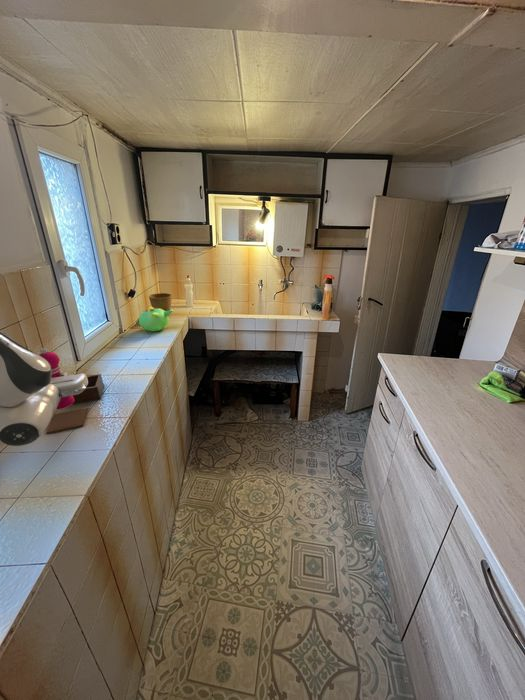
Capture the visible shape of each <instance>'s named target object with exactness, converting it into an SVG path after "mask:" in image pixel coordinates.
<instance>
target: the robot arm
mask: <svg viewBox="0 0 525 700" xmlns="http://www.w3.org/2000/svg"><path fill="white" fill-rule="evenodd" d="M87 376H88V375H87V374H86V373H83V372H81V373H76V374H68V373H67V372H66V371H65V372H60V377H55V378H51V377H52V369H51V365H50V364H49V362H48V361H47V360H46V359H44V358H43V357H41V356H40V355H39V354H38V353H36V352H34V351H33V350H30V349H28V348H26V347H25V346H23V345H21V344H20V343H18V342H17V341H15V340H14V339H12V338H11V337H10V336H7V335H6V334H5V333H4V332H2V331H0V442H1V443H3V444H4V445H7V446H12V447H20V446H25V445H29V444H31V443H33V442H35V441H37V440H38V439H39V438H41V436H42V435H43V434H44V432H46V430H47V428H49V426H50V424H51V422H52V420H53V417H54V416H53V415H54V413H55V412H56V410H58V409H57V407H58V404H59V402H60V400H61V397H67V396H73V395H77V394H80V393H82V392H83V391H84V390H85V388H86V387H87V385H88V379H87Z"/></svg>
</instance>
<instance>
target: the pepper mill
mask: <svg viewBox="0 0 525 700" xmlns="http://www.w3.org/2000/svg"><path fill="white" fill-rule="evenodd" d="M39 352H40V353H39V354H38V355H40V356H41V357H43V358H44V359H46V360H47V361H48V362H49V364H50V365H51V369H52V377H51V378H55V377H60V373H61V370H62V368H61V365H60V361H61V360H60V357H59V355H58V354H57V353H56V352H52V351H48V349H47V348H46V347H42V348H41V349H40V350H39ZM73 403H74V397H73V396H67V397H61V400H60V402H59V404H58V407H57V409H56V410H63V409H66V408H69V407H70V406H71V405H74V404H73Z"/></svg>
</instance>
